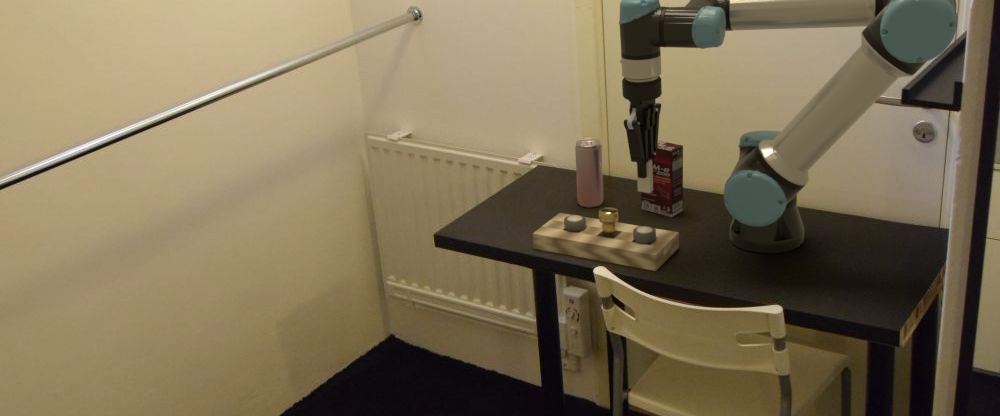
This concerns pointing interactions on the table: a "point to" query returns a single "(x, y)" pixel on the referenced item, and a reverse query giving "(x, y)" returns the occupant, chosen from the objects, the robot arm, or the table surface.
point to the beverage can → (589, 172)
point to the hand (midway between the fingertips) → (645, 190)
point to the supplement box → (666, 181)
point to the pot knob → (608, 221)
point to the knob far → (575, 223)
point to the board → (606, 243)
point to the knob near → (644, 235)
